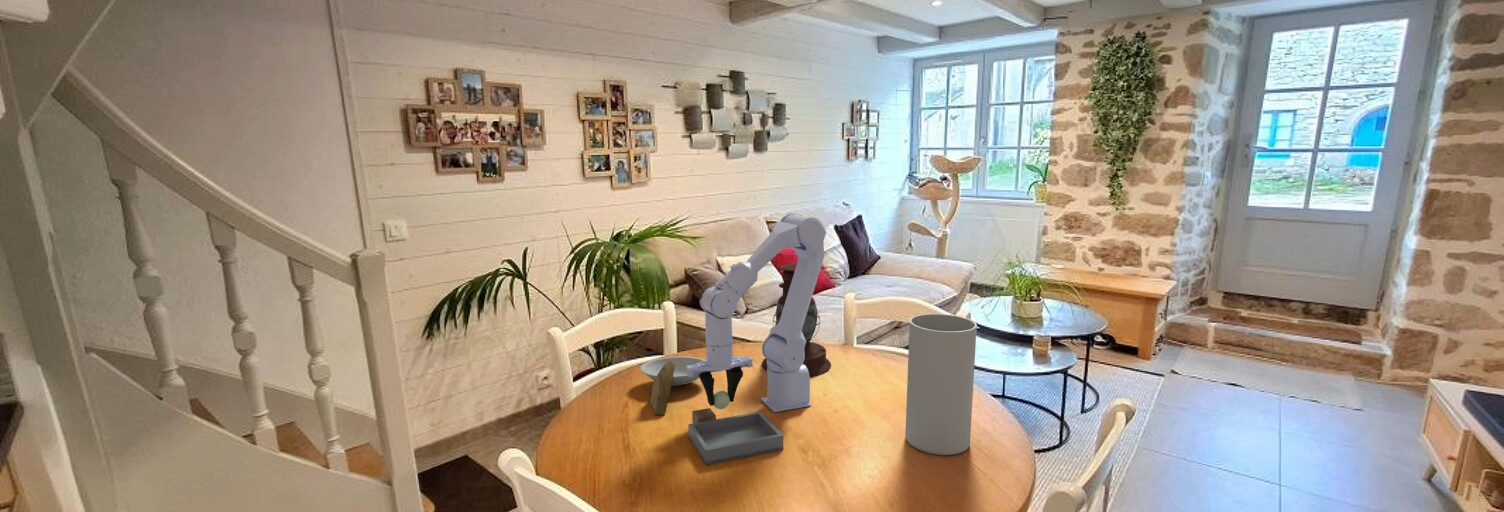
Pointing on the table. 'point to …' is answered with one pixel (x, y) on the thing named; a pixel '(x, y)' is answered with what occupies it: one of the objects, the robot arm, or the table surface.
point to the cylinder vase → (940, 383)
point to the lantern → (803, 328)
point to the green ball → (721, 399)
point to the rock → (662, 388)
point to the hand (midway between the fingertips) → (720, 402)
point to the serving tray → (734, 437)
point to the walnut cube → (703, 415)
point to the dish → (680, 370)
